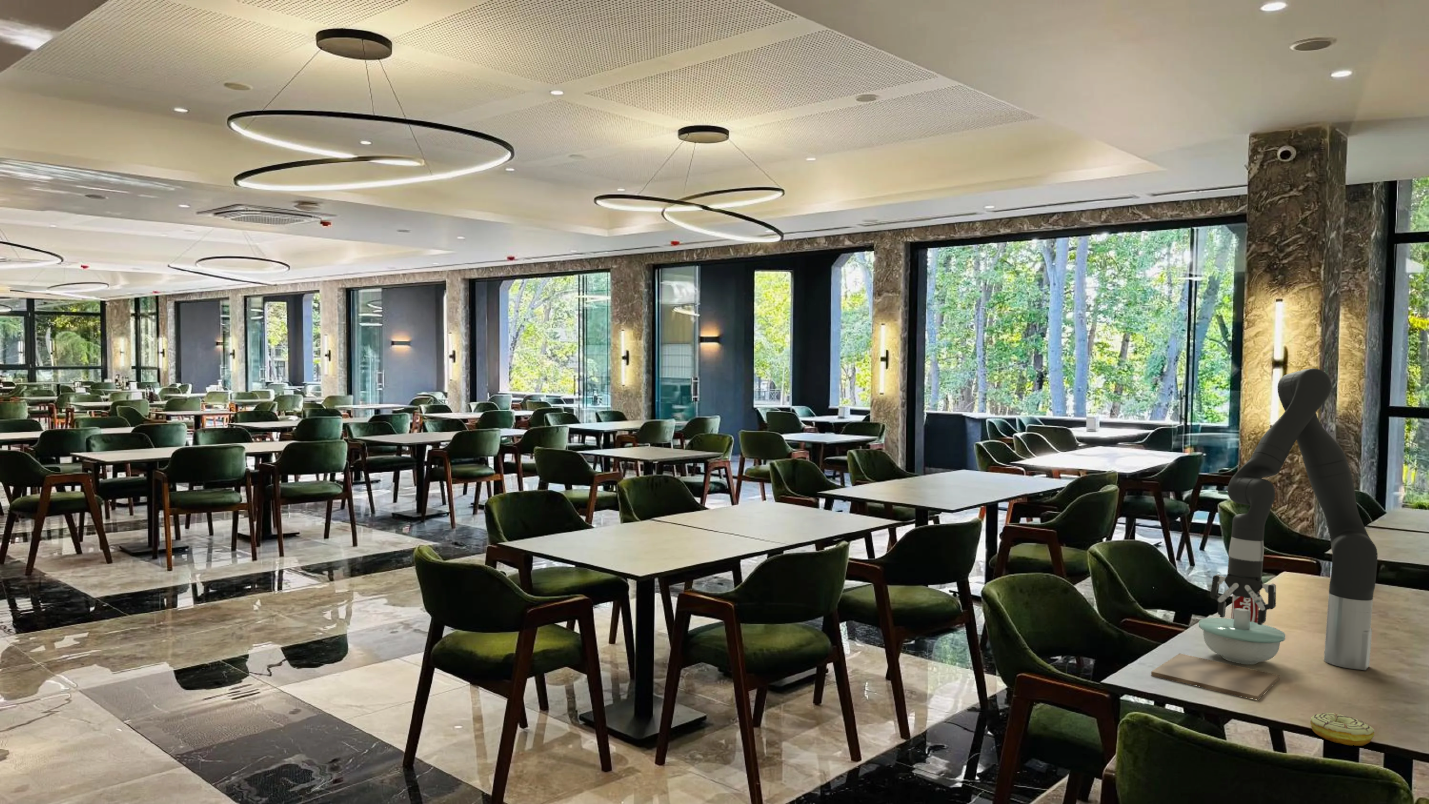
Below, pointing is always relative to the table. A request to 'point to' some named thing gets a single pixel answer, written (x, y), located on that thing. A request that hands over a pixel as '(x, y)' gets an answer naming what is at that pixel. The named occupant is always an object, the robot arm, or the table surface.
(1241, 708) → the table surface
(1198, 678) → the board
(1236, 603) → the soda can
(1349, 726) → the decorated donut
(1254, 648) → the cereal bowl
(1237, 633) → the lid
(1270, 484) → the robot arm
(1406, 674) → the table surface
